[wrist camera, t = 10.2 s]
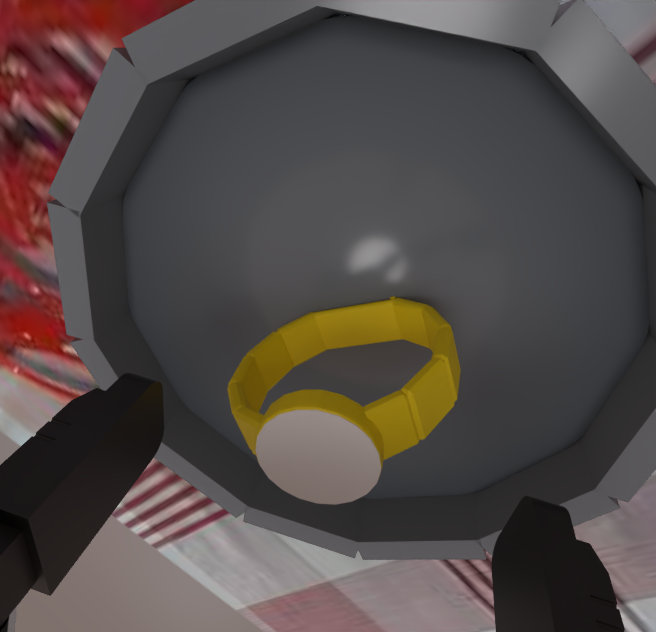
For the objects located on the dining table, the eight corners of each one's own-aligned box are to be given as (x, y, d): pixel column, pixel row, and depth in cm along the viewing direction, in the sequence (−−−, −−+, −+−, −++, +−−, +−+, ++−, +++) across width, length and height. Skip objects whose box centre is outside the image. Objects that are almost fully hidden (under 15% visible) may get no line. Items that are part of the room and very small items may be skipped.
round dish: (869, 64, 10) (987, 68, 7) (523, 554, 19) (532, 616, 17) (82, -90, 11) (-2, -122, 9) (123, 427, 21) (87, 470, 19)
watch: (439, 261, 13) (458, 385, 8) (457, 342, 15) (482, 494, 9) (254, 303, 15) (172, 427, 10) (282, 372, 16) (222, 516, 11)
